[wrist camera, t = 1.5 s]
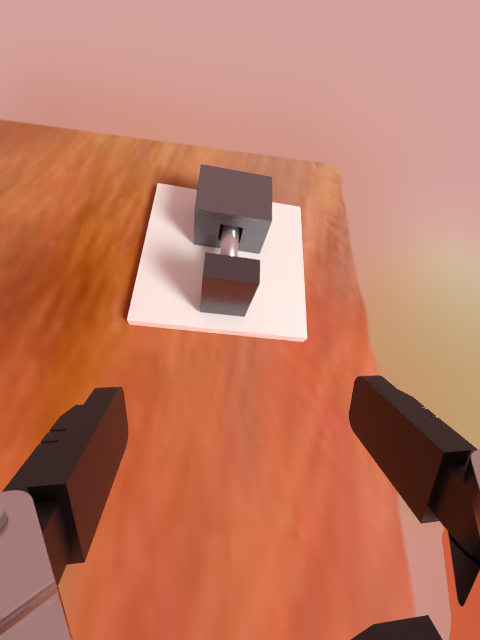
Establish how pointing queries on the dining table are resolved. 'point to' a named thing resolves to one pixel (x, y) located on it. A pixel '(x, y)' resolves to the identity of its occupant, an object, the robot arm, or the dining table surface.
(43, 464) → the robot arm
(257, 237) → the block
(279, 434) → the dining table surface
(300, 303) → the base board
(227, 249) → the shaft
